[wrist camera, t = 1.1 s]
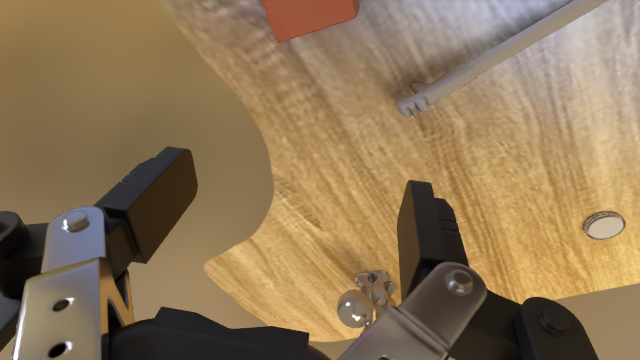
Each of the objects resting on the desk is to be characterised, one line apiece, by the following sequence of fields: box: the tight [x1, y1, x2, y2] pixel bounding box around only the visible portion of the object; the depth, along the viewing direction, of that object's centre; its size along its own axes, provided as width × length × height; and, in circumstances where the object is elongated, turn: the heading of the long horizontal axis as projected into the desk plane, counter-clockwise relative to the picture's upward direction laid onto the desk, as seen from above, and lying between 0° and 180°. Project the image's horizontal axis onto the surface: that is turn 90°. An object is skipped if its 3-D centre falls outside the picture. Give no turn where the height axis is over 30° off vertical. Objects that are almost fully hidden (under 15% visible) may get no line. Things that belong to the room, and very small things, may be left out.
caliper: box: [395, 0, 609, 118], centre depth 28 cm, size 20×1×6 cm, turn 123°
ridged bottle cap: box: [584, 212, 626, 240], centre depth 40 cm, size 4×4×1 cm
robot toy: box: [337, 271, 397, 335], centre depth 46 cm, size 15×6×15 cm, turn 30°
